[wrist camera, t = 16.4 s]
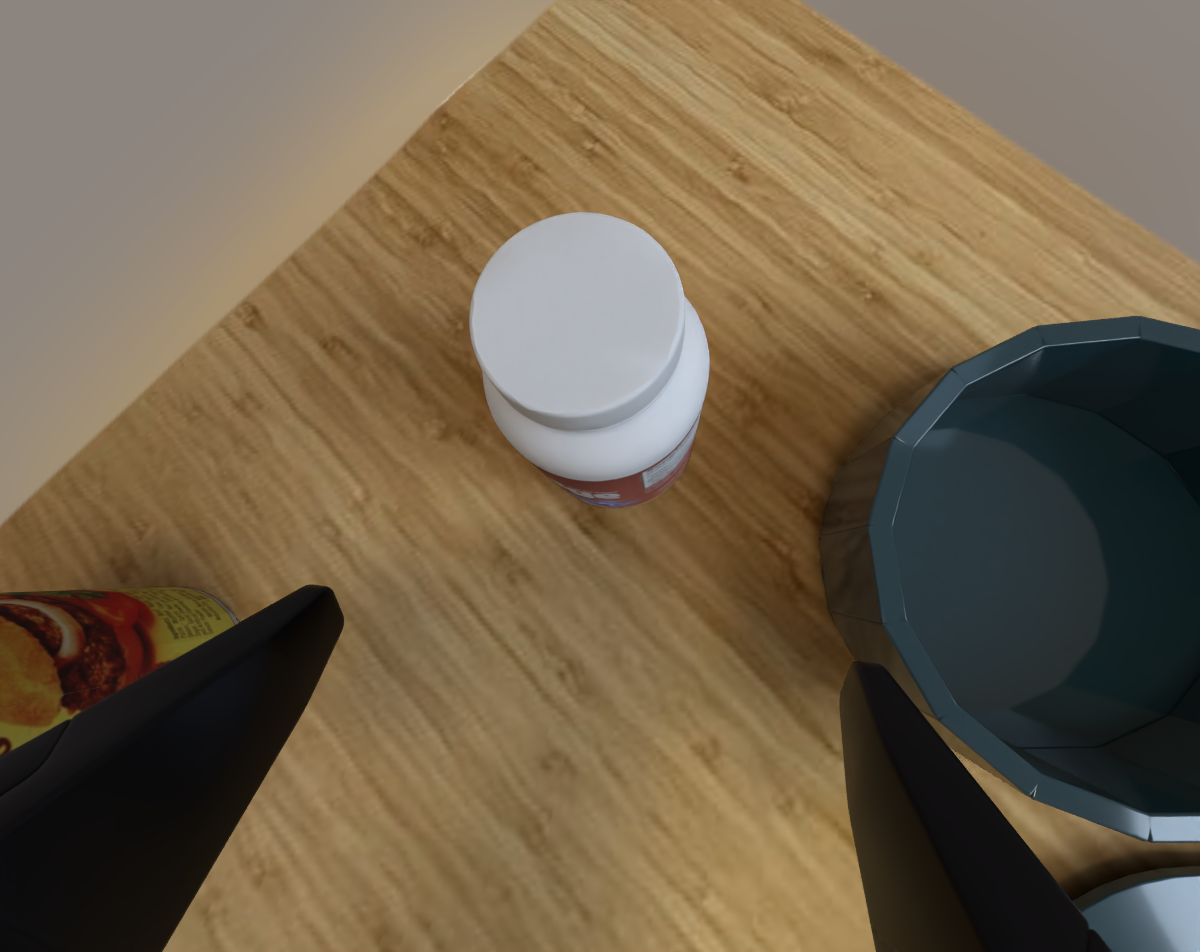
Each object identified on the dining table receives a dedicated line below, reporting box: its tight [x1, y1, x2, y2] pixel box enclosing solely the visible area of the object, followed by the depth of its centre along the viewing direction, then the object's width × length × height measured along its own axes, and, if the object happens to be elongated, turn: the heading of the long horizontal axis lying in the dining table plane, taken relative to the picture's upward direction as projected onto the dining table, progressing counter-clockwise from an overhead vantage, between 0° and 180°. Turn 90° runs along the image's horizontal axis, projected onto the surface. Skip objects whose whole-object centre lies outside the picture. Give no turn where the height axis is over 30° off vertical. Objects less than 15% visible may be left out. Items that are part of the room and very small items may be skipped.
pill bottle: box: [469, 212, 710, 509], centre depth 17 cm, size 6×6×11 cm
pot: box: [820, 316, 1200, 843], centre depth 17 cm, size 14×14×5 cm
